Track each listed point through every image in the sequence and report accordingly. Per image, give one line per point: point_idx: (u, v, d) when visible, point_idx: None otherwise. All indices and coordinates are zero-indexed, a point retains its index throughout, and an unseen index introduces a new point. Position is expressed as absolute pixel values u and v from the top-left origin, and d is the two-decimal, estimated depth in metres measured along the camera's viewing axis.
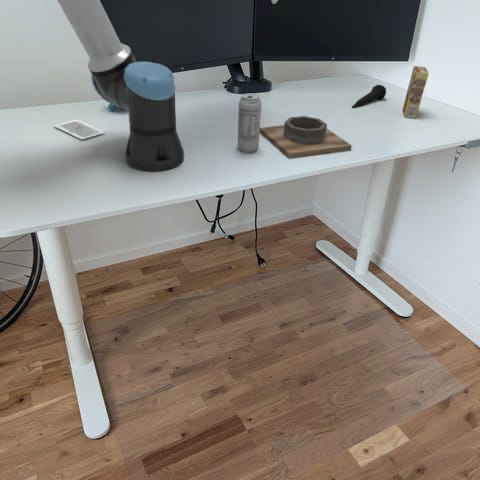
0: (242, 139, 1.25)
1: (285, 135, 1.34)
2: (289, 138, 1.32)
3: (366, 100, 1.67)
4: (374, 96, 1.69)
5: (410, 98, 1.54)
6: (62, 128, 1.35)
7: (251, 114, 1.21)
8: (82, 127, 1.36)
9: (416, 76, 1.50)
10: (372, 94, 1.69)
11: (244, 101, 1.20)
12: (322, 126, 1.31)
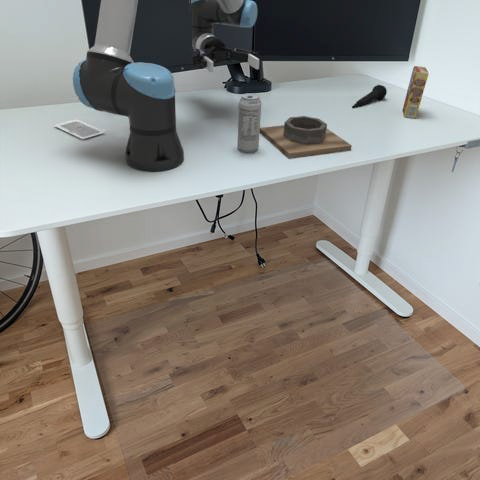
0: (242, 139, 1.25)
1: (285, 135, 1.34)
2: (289, 138, 1.32)
3: (366, 100, 1.66)
4: (374, 96, 1.69)
5: (410, 98, 1.54)
6: (63, 128, 1.35)
7: (251, 114, 1.21)
8: (82, 127, 1.37)
9: (416, 76, 1.50)
10: (372, 94, 1.68)
11: (244, 101, 1.20)
12: (322, 126, 1.31)
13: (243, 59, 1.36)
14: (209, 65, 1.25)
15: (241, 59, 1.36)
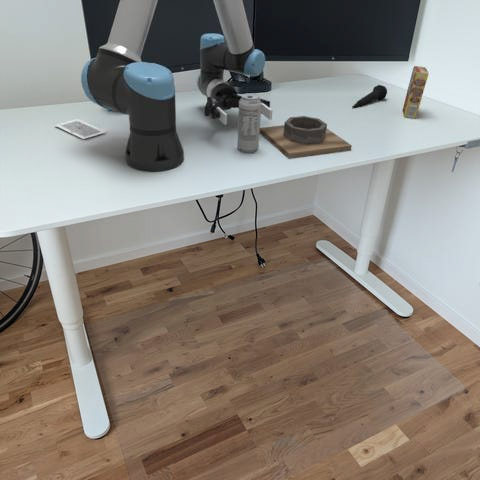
0: (242, 139, 1.25)
1: (285, 135, 1.34)
2: (289, 138, 1.32)
3: (367, 100, 1.66)
4: (375, 96, 1.69)
5: (410, 98, 1.54)
6: (64, 128, 1.36)
7: (251, 114, 1.21)
8: (83, 127, 1.37)
9: (416, 76, 1.50)
10: (373, 94, 1.68)
11: (244, 101, 1.20)
12: (322, 126, 1.31)
13: None
14: (223, 117, 1.25)
15: None
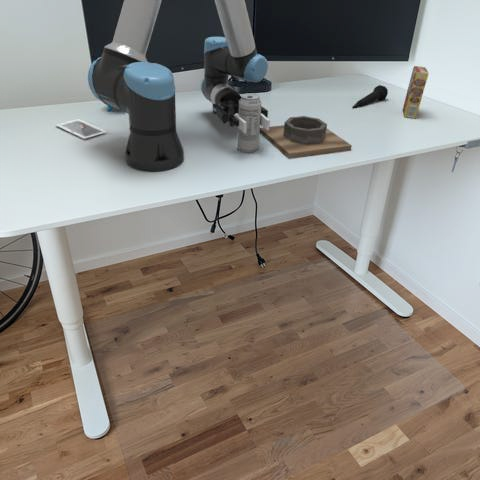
0: (242, 139, 1.25)
1: (285, 135, 1.34)
2: (289, 138, 1.32)
3: (367, 100, 1.66)
4: (375, 97, 1.68)
5: (410, 98, 1.54)
6: (64, 127, 1.36)
7: (251, 114, 1.21)
8: (84, 127, 1.37)
9: (416, 76, 1.50)
10: (373, 95, 1.68)
11: (244, 101, 1.20)
12: (322, 126, 1.31)
13: None
14: (242, 125, 1.20)
15: None
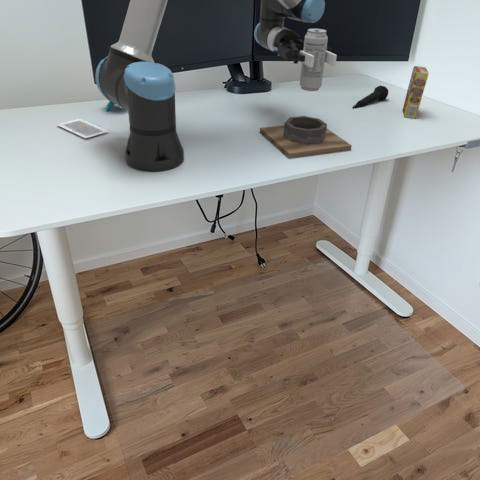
0: (306, 76, 1.23)
1: (285, 135, 1.34)
2: (289, 138, 1.32)
3: (367, 101, 1.66)
4: (376, 97, 1.68)
5: (410, 98, 1.54)
6: (66, 127, 1.36)
7: (318, 48, 1.19)
8: (85, 126, 1.37)
9: (416, 76, 1.50)
10: (374, 95, 1.68)
11: (311, 35, 1.18)
12: (322, 126, 1.31)
13: None
14: (309, 59, 1.18)
15: None
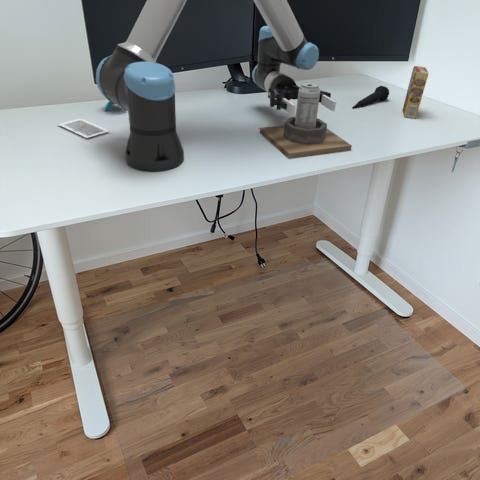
0: (300, 126, 1.31)
1: (285, 135, 1.34)
2: (289, 138, 1.32)
3: (367, 101, 1.66)
4: (376, 97, 1.68)
5: (410, 98, 1.54)
6: (67, 127, 1.36)
7: (311, 102, 1.27)
8: (86, 126, 1.37)
9: (416, 76, 1.50)
10: (374, 95, 1.68)
11: (305, 89, 1.26)
12: (322, 126, 1.31)
13: None
14: (290, 108, 1.26)
15: None
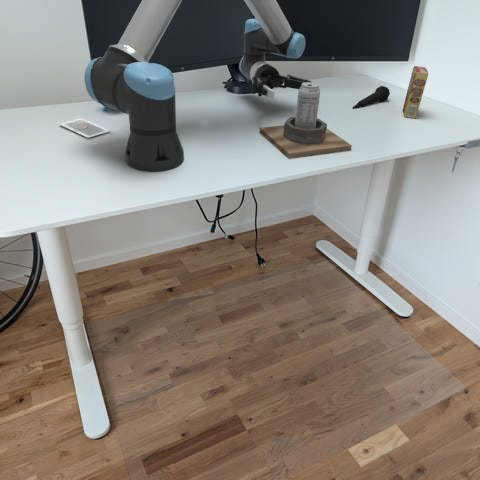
0: (300, 126, 1.31)
1: (285, 135, 1.34)
2: (289, 138, 1.32)
3: (368, 101, 1.66)
4: (376, 97, 1.68)
5: (410, 98, 1.54)
6: (68, 127, 1.36)
7: (311, 102, 1.27)
8: (87, 126, 1.38)
9: (416, 76, 1.50)
10: (374, 95, 1.67)
11: (305, 89, 1.26)
12: (322, 126, 1.31)
13: (297, 87, 1.46)
14: (270, 94, 1.35)
15: (295, 87, 1.46)
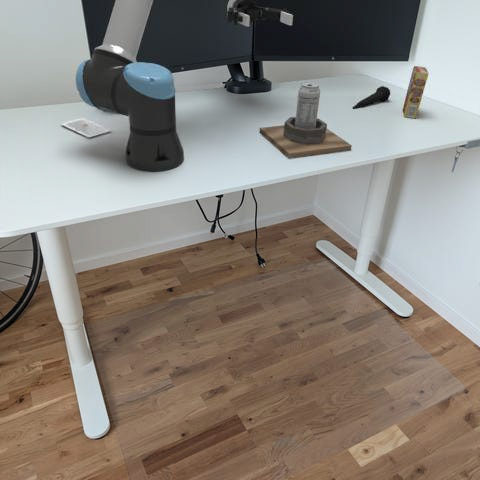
0: (300, 126, 1.31)
1: (285, 135, 1.34)
2: (289, 138, 1.32)
3: (368, 101, 1.65)
4: (377, 98, 1.68)
5: (410, 98, 1.54)
6: (69, 126, 1.37)
7: (311, 102, 1.27)
8: (88, 125, 1.38)
9: (416, 76, 1.50)
10: (375, 95, 1.67)
11: (305, 89, 1.26)
12: (322, 126, 1.31)
13: (275, 17, 1.40)
14: (245, 19, 1.29)
15: (273, 17, 1.40)
